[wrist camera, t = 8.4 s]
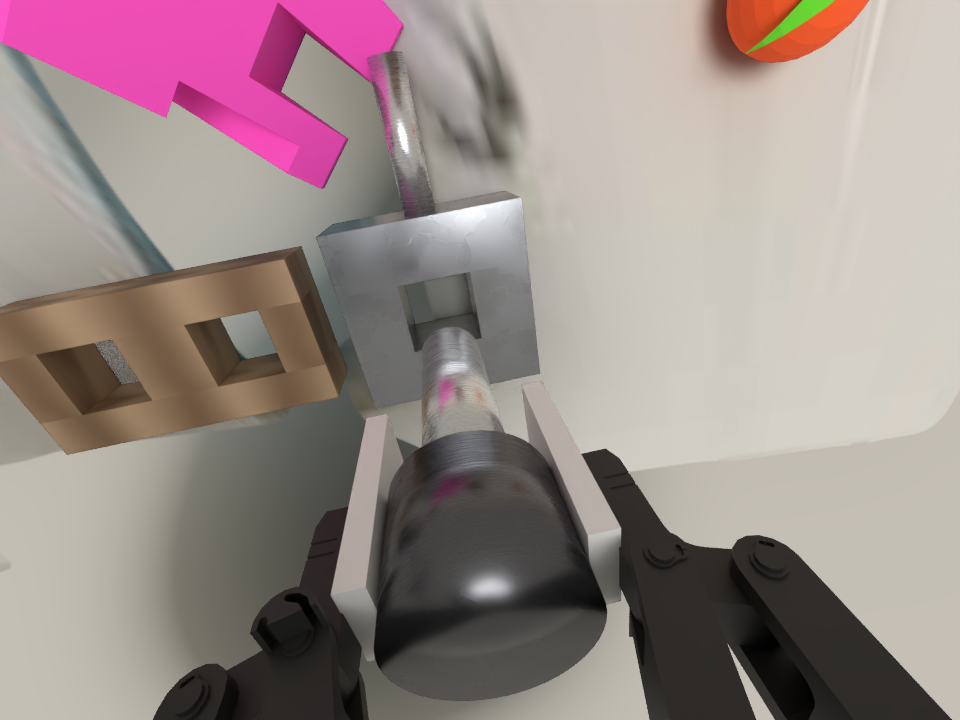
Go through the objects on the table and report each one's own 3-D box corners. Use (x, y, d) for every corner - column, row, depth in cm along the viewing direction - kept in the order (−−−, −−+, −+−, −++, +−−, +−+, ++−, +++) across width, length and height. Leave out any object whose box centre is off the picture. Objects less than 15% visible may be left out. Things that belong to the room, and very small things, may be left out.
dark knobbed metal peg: (414, 402, 22) (407, 719, 10) (390, 319, 20) (339, 595, 7) (503, 384, 22) (608, 670, 10) (490, 299, 20) (605, 534, 7)
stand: (106, 421, 31) (66, 454, 28) (16, 301, 27) (-45, 323, 23) (347, 370, 32) (338, 397, 29) (301, 246, 28) (284, 259, 24)
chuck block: (381, 374, 33) (375, 408, 28) (286, 83, 23) (256, 67, 19) (523, 344, 33) (540, 373, 29) (487, 48, 24) (502, 24, 20)
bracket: (115, 54, 22) (-97, -17, 13) (178, -164, 19) (-45, -461, 10) (324, 188, 26) (275, 204, 17) (403, 28, 23) (393, -55, 14)
